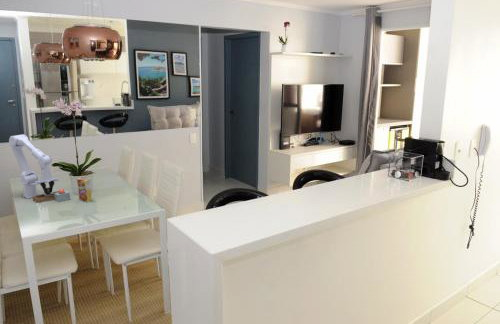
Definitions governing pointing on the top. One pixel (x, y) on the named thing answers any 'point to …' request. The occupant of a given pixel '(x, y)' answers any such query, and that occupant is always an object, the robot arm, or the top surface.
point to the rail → (43, 198)
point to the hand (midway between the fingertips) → (48, 192)
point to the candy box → (84, 189)
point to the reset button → (61, 191)
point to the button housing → (62, 196)
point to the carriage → (47, 192)
